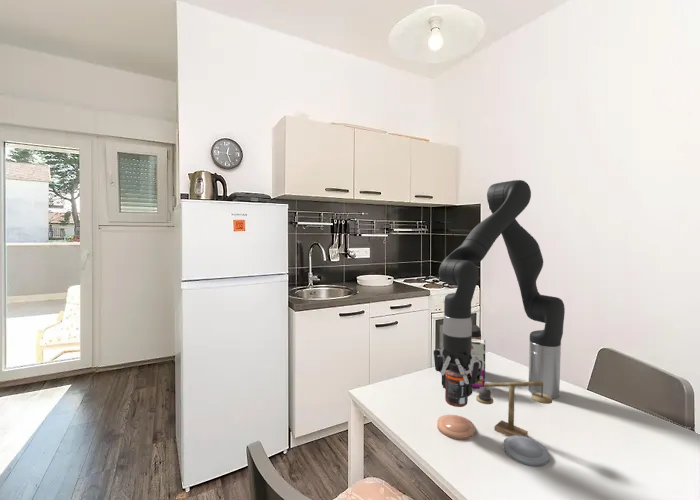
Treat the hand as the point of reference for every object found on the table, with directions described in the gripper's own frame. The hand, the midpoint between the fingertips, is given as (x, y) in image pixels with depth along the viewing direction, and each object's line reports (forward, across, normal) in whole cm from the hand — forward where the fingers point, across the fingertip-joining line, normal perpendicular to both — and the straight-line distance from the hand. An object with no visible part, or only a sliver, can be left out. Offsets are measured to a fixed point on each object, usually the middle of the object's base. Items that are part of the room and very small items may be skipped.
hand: (456, 391), depth 93 cm
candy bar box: (+11, +12, -28) cm, 32 cm away
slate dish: (+11, -17, -4) cm, 20 cm away
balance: (+11, -11, -9) cm, 18 cm away
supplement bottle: (+3, 0, 0) cm, 3 cm away
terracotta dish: (+10, 0, 0) cm, 10 cm away
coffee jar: (+11, +18, -38) cm, 43 cm away
